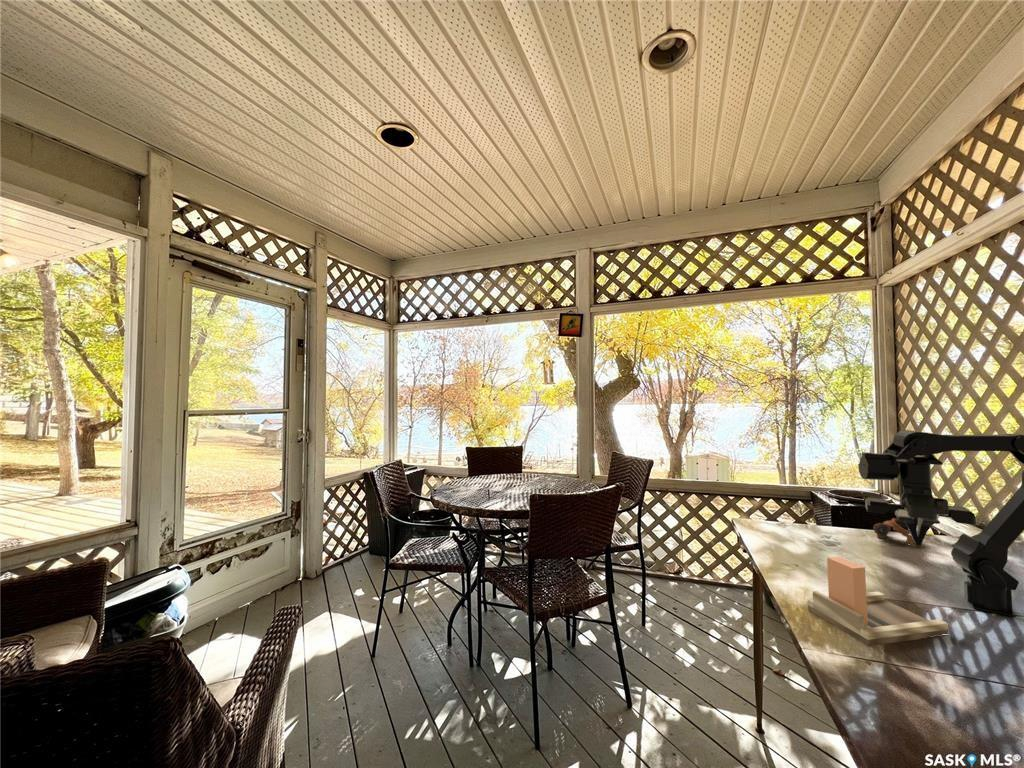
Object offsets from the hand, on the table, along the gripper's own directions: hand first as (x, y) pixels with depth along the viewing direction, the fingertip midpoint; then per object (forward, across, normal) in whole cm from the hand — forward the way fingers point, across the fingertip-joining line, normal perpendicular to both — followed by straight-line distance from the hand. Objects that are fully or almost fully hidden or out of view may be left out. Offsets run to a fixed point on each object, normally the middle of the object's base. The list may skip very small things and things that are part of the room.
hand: (917, 545), depth 100 cm
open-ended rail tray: (+13, -10, -19) cm, 26 cm away
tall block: (+12, -15, -24) cm, 31 cm away
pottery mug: (+13, +1, +49) cm, 51 cm away
